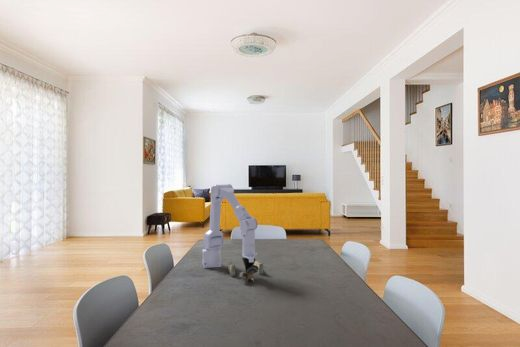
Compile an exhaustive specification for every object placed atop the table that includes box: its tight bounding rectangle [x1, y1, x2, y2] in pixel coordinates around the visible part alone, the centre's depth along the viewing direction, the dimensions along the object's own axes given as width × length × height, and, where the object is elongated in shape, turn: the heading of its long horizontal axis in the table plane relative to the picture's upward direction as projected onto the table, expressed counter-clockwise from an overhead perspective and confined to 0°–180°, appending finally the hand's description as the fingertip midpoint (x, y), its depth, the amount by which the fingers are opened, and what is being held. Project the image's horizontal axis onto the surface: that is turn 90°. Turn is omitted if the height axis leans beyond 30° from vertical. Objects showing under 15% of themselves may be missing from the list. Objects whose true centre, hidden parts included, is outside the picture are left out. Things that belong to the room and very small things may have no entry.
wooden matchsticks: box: [227, 260, 264, 278], centre depth 154 cm, size 16×14×5 cm
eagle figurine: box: [239, 265, 259, 284], centre depth 140 cm, size 8×7×9 cm
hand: (248, 274), depth 144 cm, fingers closed
